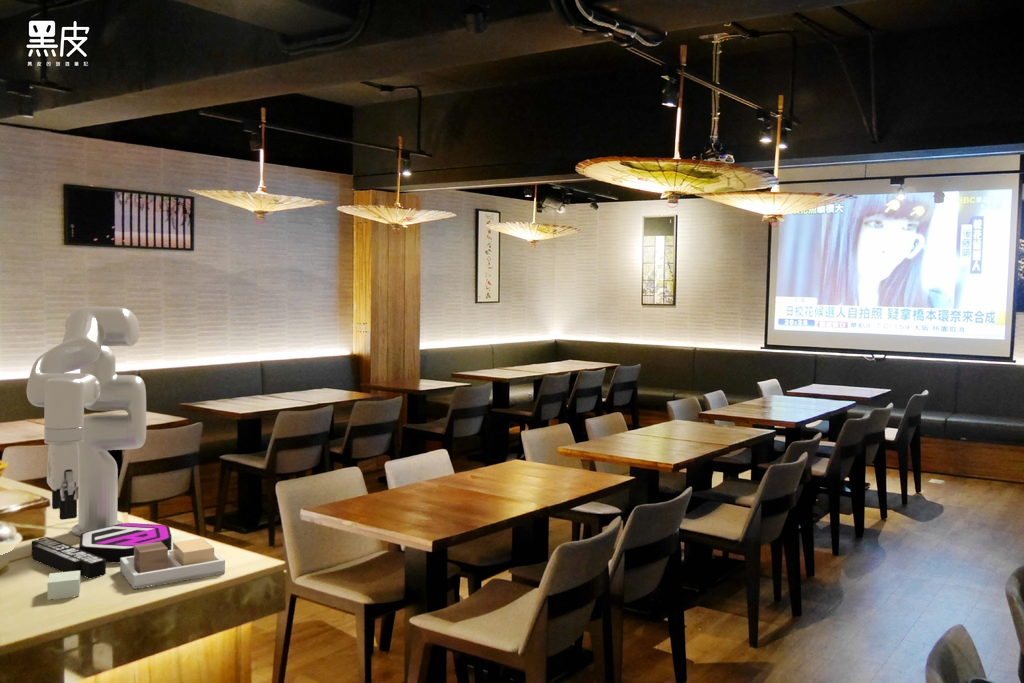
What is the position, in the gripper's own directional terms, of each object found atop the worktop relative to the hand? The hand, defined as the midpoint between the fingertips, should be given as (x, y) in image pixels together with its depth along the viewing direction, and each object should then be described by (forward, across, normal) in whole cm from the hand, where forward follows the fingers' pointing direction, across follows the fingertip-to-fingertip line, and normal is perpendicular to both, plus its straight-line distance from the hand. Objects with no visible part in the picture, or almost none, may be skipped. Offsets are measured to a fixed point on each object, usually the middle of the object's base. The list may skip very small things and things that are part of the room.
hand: (64, 513), depth 179 cm
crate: (+18, -2, +23) cm, 29 cm away
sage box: (+18, 0, 0) cm, 18 cm away
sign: (+18, -24, +15) cm, 34 cm away
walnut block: (+17, -2, +18) cm, 25 cm away
